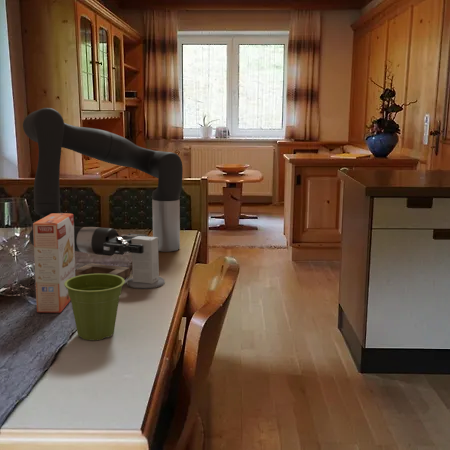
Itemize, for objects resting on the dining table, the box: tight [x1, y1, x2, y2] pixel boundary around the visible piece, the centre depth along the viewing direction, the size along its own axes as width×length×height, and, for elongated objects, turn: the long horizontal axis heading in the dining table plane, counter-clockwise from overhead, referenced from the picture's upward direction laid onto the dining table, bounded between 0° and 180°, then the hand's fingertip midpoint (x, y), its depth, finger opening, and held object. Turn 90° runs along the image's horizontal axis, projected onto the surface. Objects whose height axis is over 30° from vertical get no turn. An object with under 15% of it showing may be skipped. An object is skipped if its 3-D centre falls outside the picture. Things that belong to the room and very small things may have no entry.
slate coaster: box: [126, 276, 166, 290], centre depth 142 cm, size 10×10×1 cm
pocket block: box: [75, 262, 131, 280], centre depth 145 cm, size 13×13×2 cm
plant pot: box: [64, 274, 126, 341], centre depth 107 cm, size 12×12×11 cm
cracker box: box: [32, 212, 76, 314], centre depth 124 cm, size 14×6×21 cm, turn 2°
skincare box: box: [131, 235, 160, 284], centre depth 141 cm, size 6×4×12 cm
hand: (150, 245), depth 140 cm, fingers open, 8 cm apart
